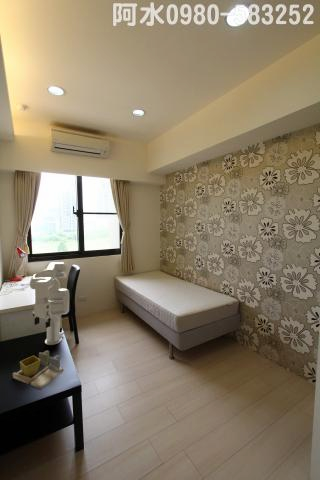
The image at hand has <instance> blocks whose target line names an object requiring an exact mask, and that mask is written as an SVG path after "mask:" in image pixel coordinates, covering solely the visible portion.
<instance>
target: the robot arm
mask: <svg viewBox="0 0 320 480" xmlns="http://www.w3.org/2000/svg"><path fill="white" fill-rule="evenodd" d="M68 275H69V269H68V267H67V265H66V263H64V262H63V261H62V262H58V261H57V262H49V263H47V264H46V266H44V269H43V270H41V271H39V272H36V273H34V274H33V276H32V277H31V279H30V281H29V287H30V289H32V290H34V292H35V293H34V297H35V298H34V300H35V301H34V307H33V308H34V309H33V310H32V311H31V313H32V317H33V320H34V322H33V323H34V325H35V326H36V325H38V324H40V319H44V320H45V329H46V339H45V340H44V343H45V344H46V345H48V346H53V345H57V344H59V343H60V342H62V341H63V337H62V335H64V334H65V331H62V332H60V331H61V330H60V329H61V326H60V325H61V323H60V322H61V321H60V319H61V318H60V317H59V315H67V314H68V313H69V312H70V290H69V289H68V288H61V282H60V280H58V279H61V278H63V279H64V278H67V277H68Z"/></svg>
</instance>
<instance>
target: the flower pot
mask: <svg viewBox="0 0 320 480" xmlns="http://www.w3.org/2000/svg"><path fill="white" fill-rule="evenodd" d="M38 358H39V357H37V356H35V355H32V356H30V357H29V356H28V357H27V358H25V359H23V360H21V361H19V366H20V370H21V371H22V375H24V376H26V377H29V378H32V377H33V376H35V375H36V374H38V371H39V369H40V366H41V365H40V360H39V359H38Z"/></svg>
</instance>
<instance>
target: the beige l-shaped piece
mask: <svg viewBox="0 0 320 480" xmlns="http://www.w3.org/2000/svg"><path fill="white" fill-rule="evenodd" d="M60 362H61V356H60V355H58V354H56V355H54V356H53V357H52V356H49V364H48V365H49V369H48V370H47V371H46V372H44V373H43V374H42V375H40V376H39V377H38V378H36V379H35V380H34V381H32V382H31V383H30V385H31V386H33V387H36V388H38V389H43V388H44V387H45V386H46V385H48V384H49V382H51V381H53V380H54V379H55V378H56V377H58V375H60V373H62V372H63V371H64V368H63V367H61V363H60Z"/></svg>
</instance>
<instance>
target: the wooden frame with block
mask: <svg viewBox="0 0 320 480" xmlns="http://www.w3.org/2000/svg"><path fill="white" fill-rule="evenodd" d="M49 357H50V351H49V350H44V351H43V352H40V351H39V352H38V357H37V358H38V359H39V360H40V366H44V367H45V368H43V369H42V370H40V371H39V372H37V373H36V374H34V375H32V376H31V377H26V376H25V375H24V374H23V373H22V371H21V369H20V370H19V371H17V372H15V371H14V372H13V373H12V378H13V379H14V380H17V381H20V382H23V383H25V384H28V385H29V384H30V385H31V382H32V381H34V380H35V379H36V378H38V377H39V376H40V375H42V374H43V373H44V372H46V371H47V370H48V369H49Z"/></svg>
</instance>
